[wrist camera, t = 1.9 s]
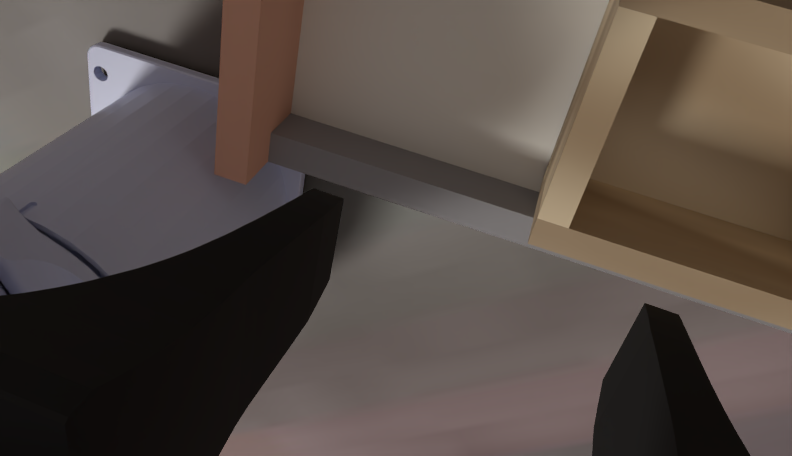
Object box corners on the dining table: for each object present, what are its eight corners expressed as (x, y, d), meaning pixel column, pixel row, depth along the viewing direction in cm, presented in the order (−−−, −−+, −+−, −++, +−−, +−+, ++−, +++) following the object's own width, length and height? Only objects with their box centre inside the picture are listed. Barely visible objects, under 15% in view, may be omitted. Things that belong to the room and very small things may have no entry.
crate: (817, 266, 20) (847, 348, 17) (542, 179, 21) (527, 243, 18) (984, 27, 16) (1060, 84, 13) (634, -67, 17) (633, -34, 14)
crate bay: (850, 304, 21) (888, 399, 18) (271, 119, 24) (214, 174, 20) (1105, -27, 16) (1227, 27, 12) (307, -231, 18) (235, -231, 15)
